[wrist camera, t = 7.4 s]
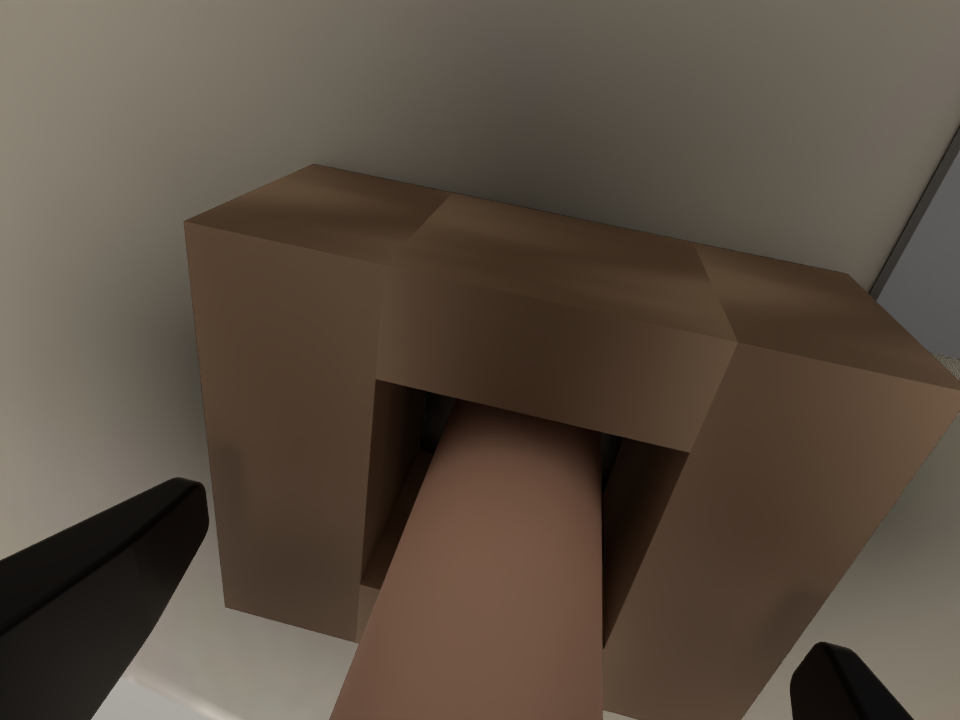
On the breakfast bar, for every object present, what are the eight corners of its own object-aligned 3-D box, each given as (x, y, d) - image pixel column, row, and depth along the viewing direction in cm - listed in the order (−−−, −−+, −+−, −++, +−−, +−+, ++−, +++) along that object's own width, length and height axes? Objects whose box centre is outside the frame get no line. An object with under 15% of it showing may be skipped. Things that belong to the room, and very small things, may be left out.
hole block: (848, 274, 10) (972, 393, 7) (695, 573, 14) (724, 743, 11) (312, 164, 11) (183, 221, 8) (310, 477, 15) (225, 607, 12)
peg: (617, 351, 12) (652, 944, 4) (581, 463, 13) (557, 1050, 6) (474, 319, 12) (252, 825, 4) (455, 433, 14) (265, 957, 6)
